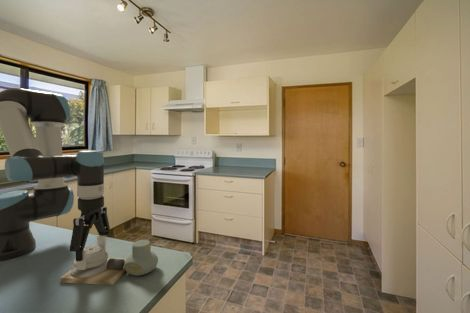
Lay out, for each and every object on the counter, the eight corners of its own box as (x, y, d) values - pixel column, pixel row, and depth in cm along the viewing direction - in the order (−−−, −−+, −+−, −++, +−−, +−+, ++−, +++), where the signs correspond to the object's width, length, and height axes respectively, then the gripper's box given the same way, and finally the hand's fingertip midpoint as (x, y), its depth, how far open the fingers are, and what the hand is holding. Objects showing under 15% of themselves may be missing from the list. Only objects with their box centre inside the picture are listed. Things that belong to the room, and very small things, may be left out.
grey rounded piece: (119, 274, 77) (119, 246, 77) (135, 262, 86) (135, 236, 85) (148, 280, 75) (148, 250, 74) (161, 266, 83) (162, 240, 82)
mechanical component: (65, 267, 74) (92, 271, 73) (65, 254, 74) (92, 258, 72) (90, 252, 84) (114, 256, 82) (90, 241, 84) (114, 244, 82)
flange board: (60, 282, 72) (59, 268, 72) (87, 260, 85) (87, 248, 85) (113, 285, 72) (113, 270, 72) (132, 262, 85) (132, 250, 84)
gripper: (78, 206, 66) (79, 281, 67) (119, 189, 88) (120, 245, 89) (52, 205, 66) (54, 279, 67) (100, 189, 88) (101, 245, 90)
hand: (92, 260), depth 78 cm, fingers closed on mechanical component, 10 cm apart
